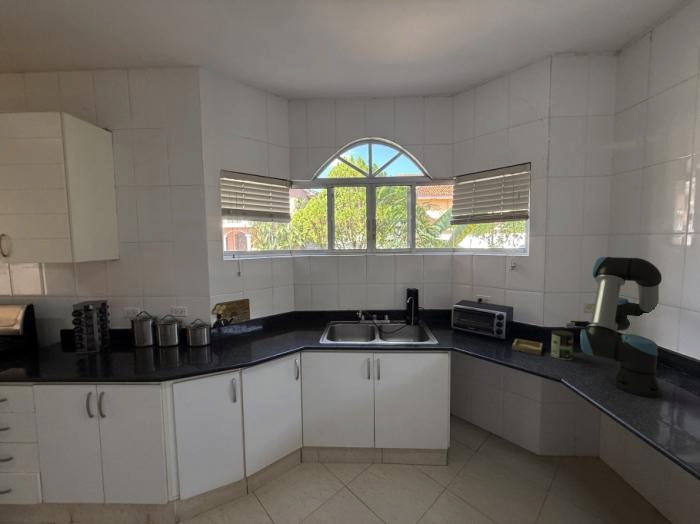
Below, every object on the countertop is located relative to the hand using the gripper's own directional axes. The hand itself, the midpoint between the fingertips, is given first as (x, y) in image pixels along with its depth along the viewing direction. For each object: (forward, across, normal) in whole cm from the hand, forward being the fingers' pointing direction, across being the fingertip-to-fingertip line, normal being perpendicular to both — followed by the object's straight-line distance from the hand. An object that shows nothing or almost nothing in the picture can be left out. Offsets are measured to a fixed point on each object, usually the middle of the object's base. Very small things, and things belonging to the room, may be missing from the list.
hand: (576, 329), depth 171 cm
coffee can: (+10, 0, -15) cm, 18 cm away
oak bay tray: (+20, +14, -15) cm, 28 cm away
